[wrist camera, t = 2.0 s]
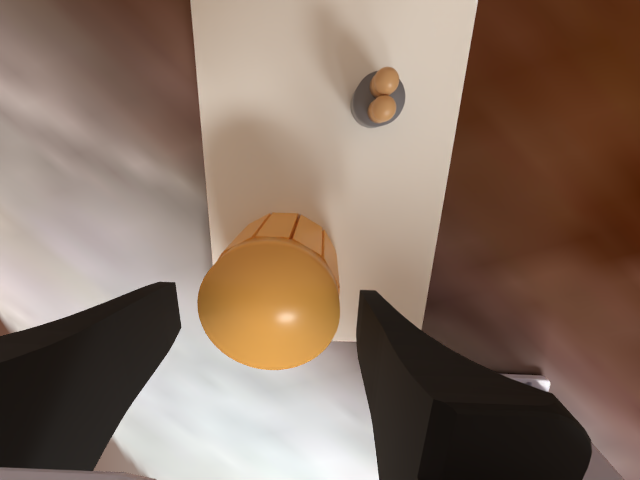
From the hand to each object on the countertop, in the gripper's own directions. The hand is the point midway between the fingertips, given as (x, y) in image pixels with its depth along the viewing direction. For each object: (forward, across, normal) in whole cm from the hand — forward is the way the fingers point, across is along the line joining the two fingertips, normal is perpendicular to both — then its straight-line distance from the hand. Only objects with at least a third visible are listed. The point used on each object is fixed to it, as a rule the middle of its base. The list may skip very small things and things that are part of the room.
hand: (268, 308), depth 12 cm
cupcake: (+5, 0, 0) cm, 5 cm away
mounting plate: (+6, -2, -4) cm, 8 cm away
